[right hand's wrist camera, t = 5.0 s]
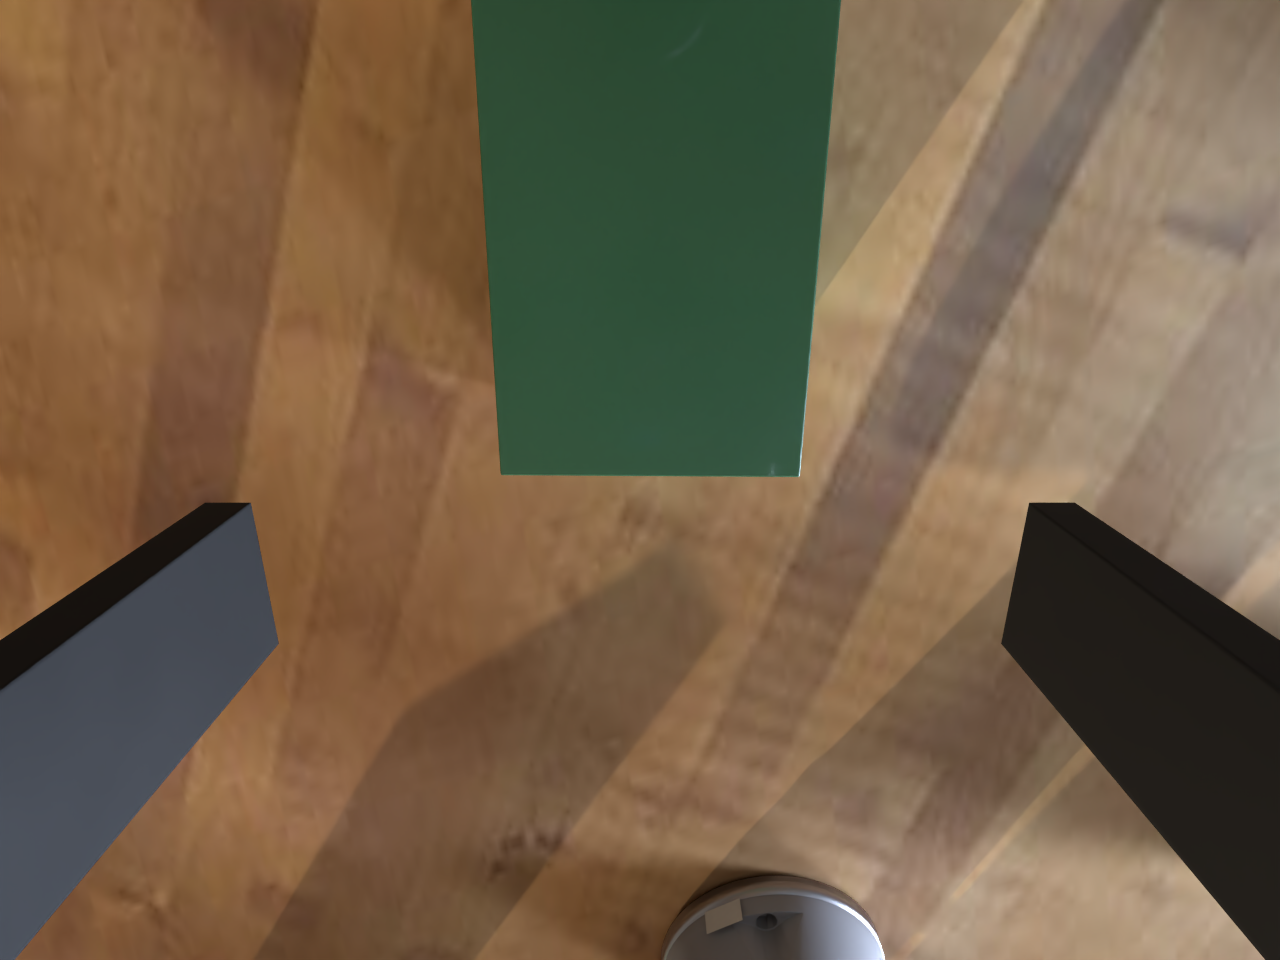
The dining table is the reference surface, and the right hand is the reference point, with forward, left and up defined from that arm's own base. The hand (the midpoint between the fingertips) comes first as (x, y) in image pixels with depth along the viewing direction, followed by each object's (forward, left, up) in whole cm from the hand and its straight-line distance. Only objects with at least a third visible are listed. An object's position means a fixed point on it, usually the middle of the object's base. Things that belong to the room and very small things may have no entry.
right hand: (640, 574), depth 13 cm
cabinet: (+3, -4, -26) cm, 26 cm away
